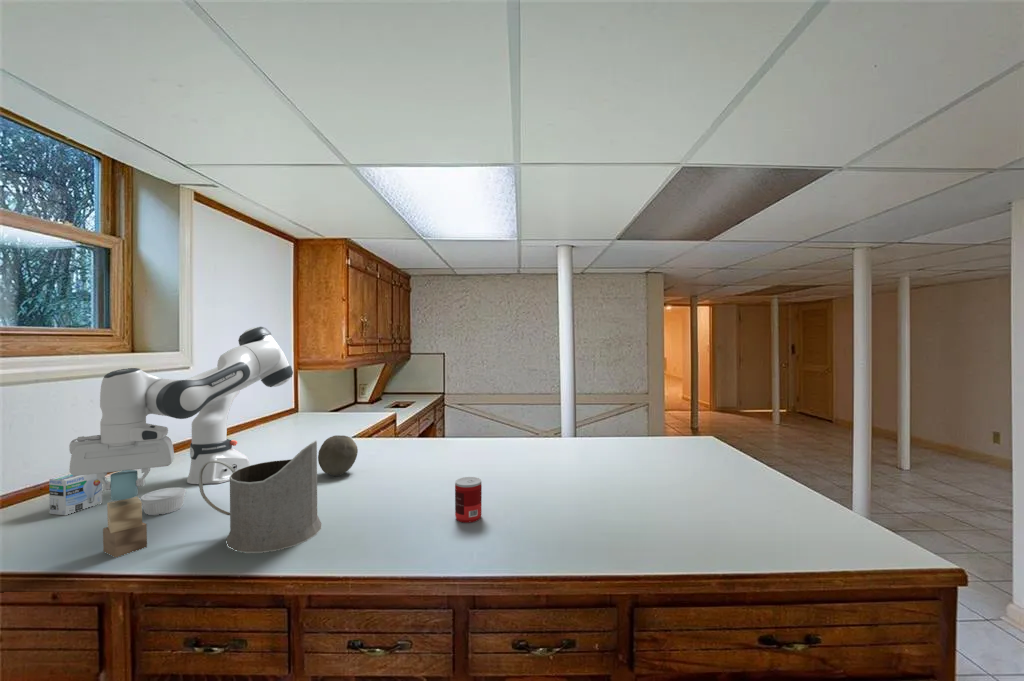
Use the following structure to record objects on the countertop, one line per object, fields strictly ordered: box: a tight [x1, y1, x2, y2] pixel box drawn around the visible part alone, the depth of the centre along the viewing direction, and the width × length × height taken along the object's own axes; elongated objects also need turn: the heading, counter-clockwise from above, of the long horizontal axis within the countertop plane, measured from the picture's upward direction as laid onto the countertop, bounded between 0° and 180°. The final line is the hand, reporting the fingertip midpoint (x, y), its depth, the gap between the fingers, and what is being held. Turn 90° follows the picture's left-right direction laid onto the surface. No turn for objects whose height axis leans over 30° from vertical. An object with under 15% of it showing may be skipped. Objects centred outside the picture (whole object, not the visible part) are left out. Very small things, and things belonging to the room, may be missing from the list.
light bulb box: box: [48, 473, 103, 516], centre depth 144 cm, size 11×7×11 cm, turn 168°
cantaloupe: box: [317, 435, 359, 477], centre depth 179 cm, size 14×14×15 cm
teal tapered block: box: [110, 469, 139, 501], centre depth 116 cm, size 5×5×6 cm
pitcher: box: [198, 440, 323, 554], centre depth 126 cm, size 23×32×25 cm
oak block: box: [106, 496, 143, 533], centre depth 116 cm, size 6×6×6 cm
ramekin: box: [139, 487, 187, 516], centre depth 143 cm, size 11×11×5 cm
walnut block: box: [102, 521, 148, 558], centre depth 116 cm, size 6×6×6 cm
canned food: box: [454, 476, 483, 524], centre depth 136 cm, size 8×8×11 cm
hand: (124, 487), depth 116 cm, fingers closed on teal tapered block, 5 cm apart
